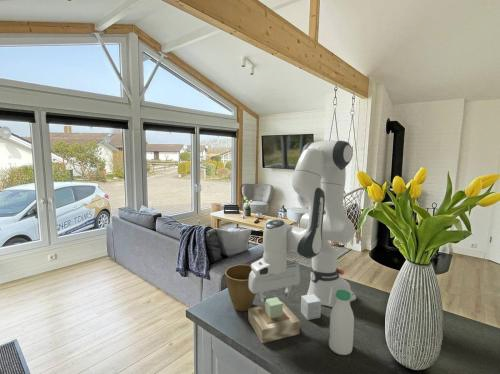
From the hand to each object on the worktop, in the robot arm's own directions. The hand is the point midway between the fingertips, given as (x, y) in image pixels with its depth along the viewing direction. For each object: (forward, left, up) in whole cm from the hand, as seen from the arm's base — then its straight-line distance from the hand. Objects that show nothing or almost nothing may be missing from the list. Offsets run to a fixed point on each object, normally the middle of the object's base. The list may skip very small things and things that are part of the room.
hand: (274, 298), depth 103 cm
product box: (-17, -2, -12) cm, 21 cm away
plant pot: (+7, -17, -12) cm, 21 cm away
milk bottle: (-16, +18, -12) cm, 27 cm away
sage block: (+1, 0, -6) cm, 6 cm away
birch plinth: (+1, 0, -11) cm, 11 cm away
